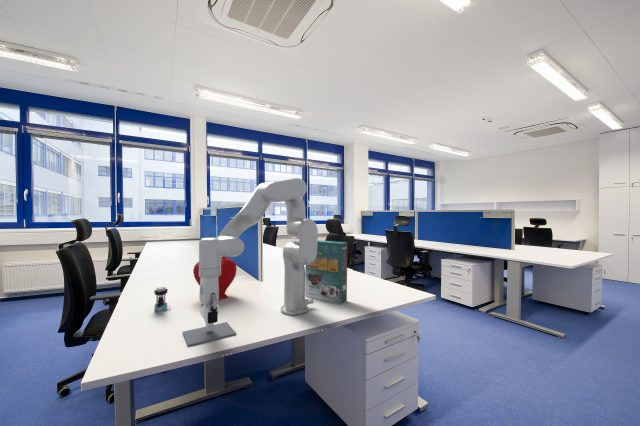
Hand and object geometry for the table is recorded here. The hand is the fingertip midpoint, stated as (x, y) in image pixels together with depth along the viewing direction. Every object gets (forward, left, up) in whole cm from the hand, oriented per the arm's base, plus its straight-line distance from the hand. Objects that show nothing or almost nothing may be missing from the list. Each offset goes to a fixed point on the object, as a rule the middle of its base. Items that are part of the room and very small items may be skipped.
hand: (209, 318), depth 98 cm
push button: (+12, -37, -6) cm, 39 cm away
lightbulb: (0, 0, -5) cm, 5 cm away
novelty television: (-13, -43, -6) cm, 45 cm away
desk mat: (0, 0, -6) cm, 6 cm away
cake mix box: (-60, -10, -6) cm, 61 cm away
